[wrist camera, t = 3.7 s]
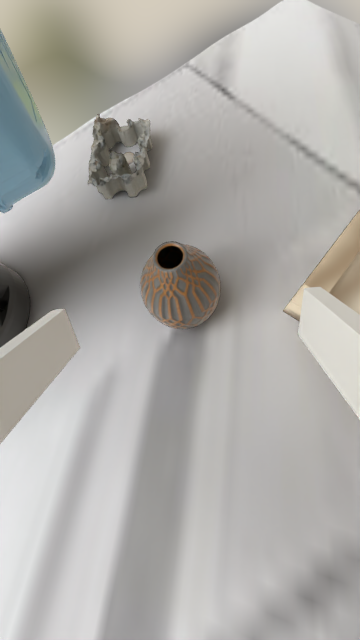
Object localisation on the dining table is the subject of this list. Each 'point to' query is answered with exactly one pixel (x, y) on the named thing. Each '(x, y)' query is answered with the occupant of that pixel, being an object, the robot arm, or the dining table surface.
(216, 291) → the vase
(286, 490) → the dining table surface
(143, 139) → the egg carton
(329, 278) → the tray
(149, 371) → the dining table surface
